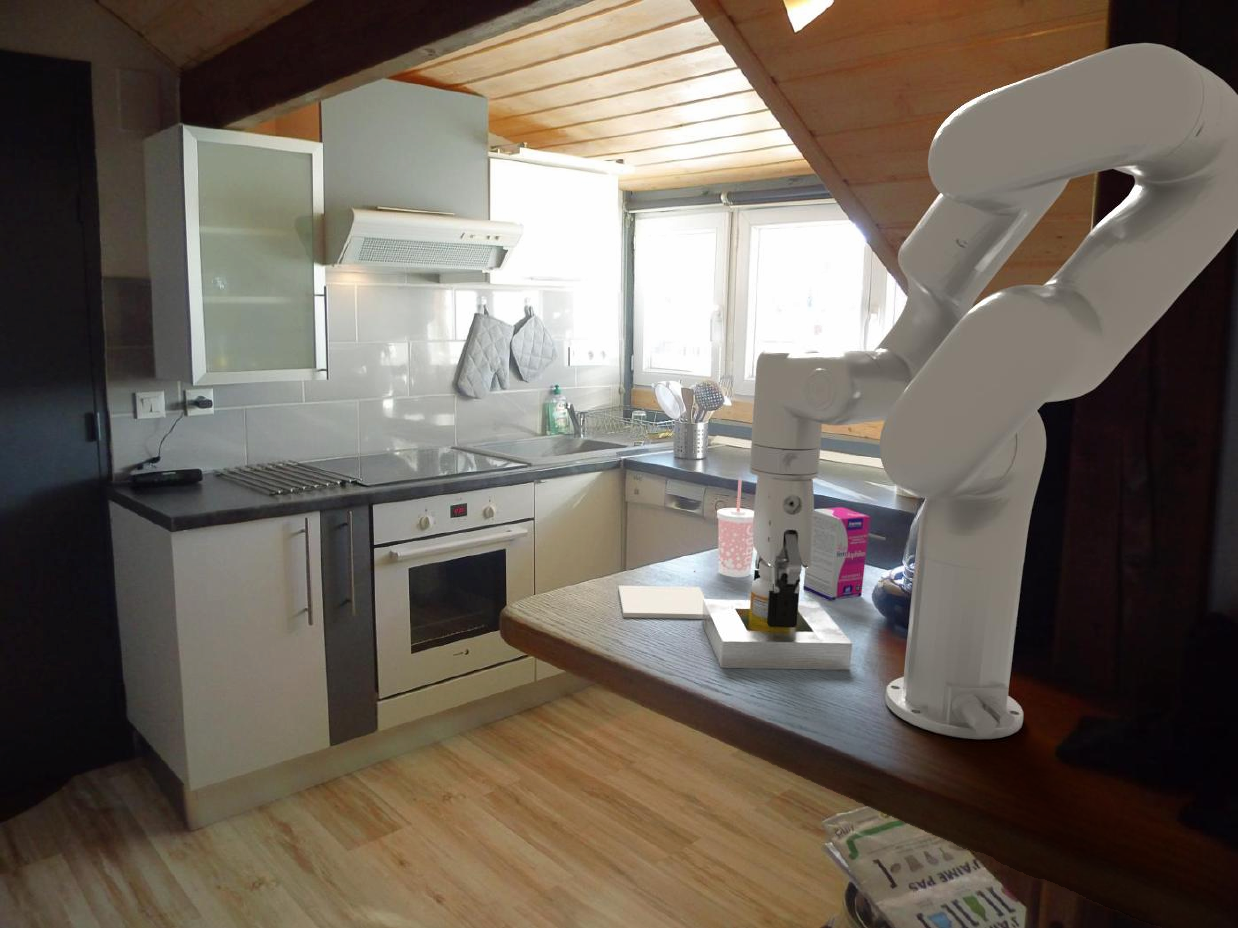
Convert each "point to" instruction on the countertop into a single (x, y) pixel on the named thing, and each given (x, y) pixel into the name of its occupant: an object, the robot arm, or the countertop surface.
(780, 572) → the supplement bottle
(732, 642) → the concrete holder
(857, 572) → the supplement box
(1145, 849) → the countertop surface
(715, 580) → the countertop surface
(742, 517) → the beverage cup
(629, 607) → the plastic mat
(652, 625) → the countertop surface
